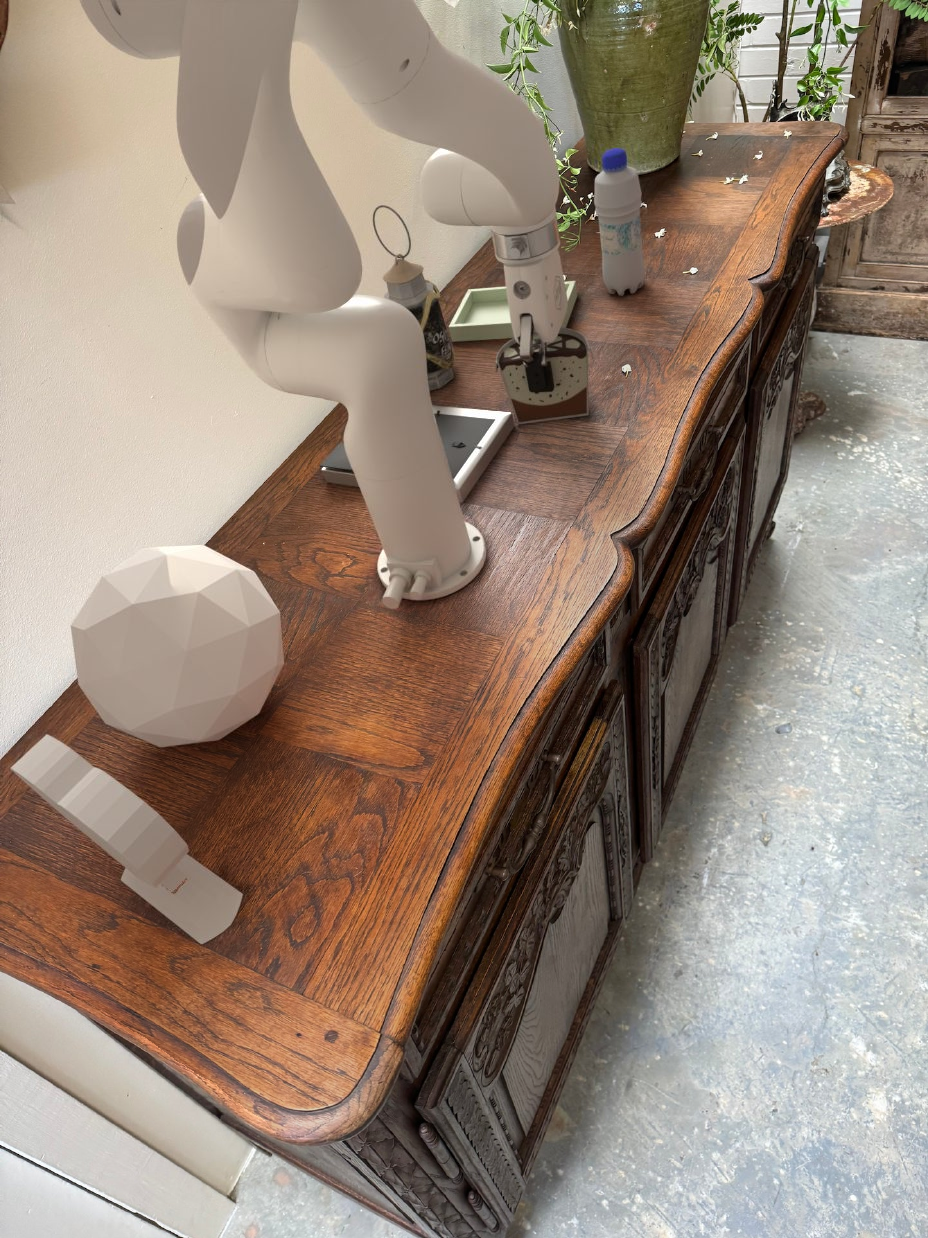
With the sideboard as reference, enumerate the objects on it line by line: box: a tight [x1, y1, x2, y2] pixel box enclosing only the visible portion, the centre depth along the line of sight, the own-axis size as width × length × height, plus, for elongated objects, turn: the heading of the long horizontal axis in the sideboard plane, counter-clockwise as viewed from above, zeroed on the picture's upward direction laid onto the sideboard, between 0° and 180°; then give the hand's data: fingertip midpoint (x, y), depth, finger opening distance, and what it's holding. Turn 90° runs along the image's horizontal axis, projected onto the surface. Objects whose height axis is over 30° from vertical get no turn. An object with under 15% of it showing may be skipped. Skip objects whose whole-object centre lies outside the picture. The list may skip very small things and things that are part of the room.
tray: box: [448, 280, 578, 343], centre depth 129 cm, size 12×18×2 cm, turn 74°
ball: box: [70, 544, 285, 748], centre depth 81 cm, size 19×20×20 cm
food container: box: [494, 327, 595, 425], centre depth 108 cm, size 12×6×10 cm, turn 84°
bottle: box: [593, 147, 646, 297], centre depth 122 cm, size 7×7×20 cm
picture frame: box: [319, 405, 516, 503], centre depth 110 cm, size 16×3×21 cm
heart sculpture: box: [9, 733, 244, 945], centre depth 67 cm, size 16×5×18 cm, turn 55°
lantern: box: [372, 204, 455, 392], centre depth 114 cm, size 9×8×25 cm
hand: (547, 373), depth 108 cm, fingers closed on food container, 6 cm apart
